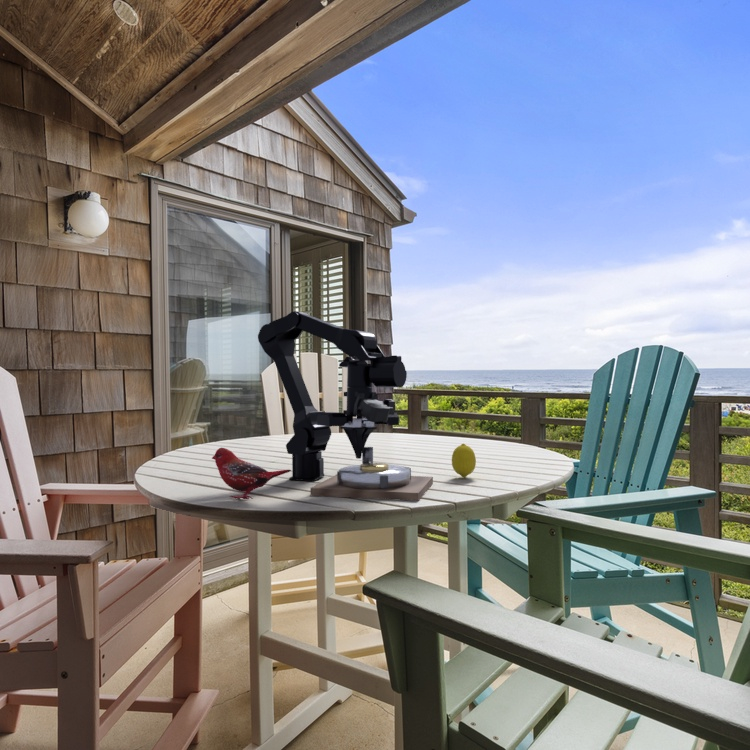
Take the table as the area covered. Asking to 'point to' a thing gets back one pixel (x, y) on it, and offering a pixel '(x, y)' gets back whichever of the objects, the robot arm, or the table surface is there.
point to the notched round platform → (373, 474)
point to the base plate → (374, 490)
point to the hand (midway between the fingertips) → (358, 458)
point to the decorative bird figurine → (242, 473)
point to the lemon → (463, 460)
